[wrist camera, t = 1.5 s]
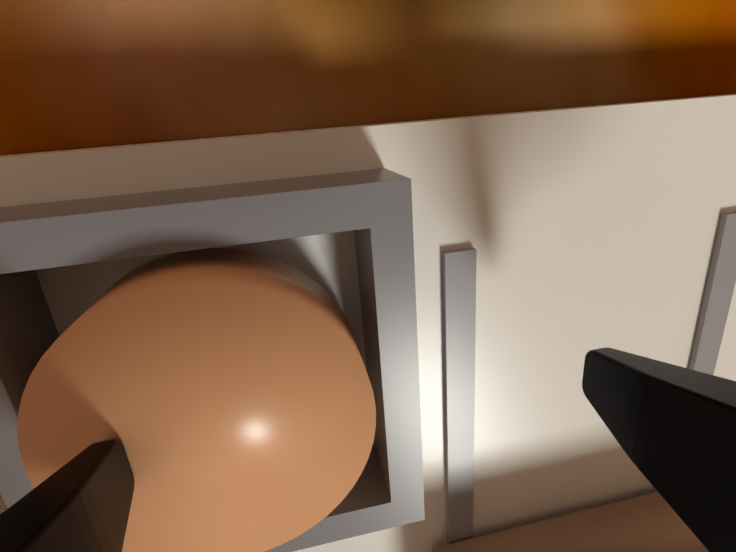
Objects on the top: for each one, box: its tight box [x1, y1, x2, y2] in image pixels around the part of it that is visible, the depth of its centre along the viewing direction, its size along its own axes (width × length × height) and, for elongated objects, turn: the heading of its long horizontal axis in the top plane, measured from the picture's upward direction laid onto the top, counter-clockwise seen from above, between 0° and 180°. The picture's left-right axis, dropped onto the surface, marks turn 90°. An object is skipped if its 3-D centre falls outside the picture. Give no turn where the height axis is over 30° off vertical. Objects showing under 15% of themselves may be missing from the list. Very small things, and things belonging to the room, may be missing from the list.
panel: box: [0, 94, 736, 552], centre depth 13 cm, size 20×20×4 cm
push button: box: [17, 248, 376, 552], centre depth 9 cm, size 6×6×2 cm
